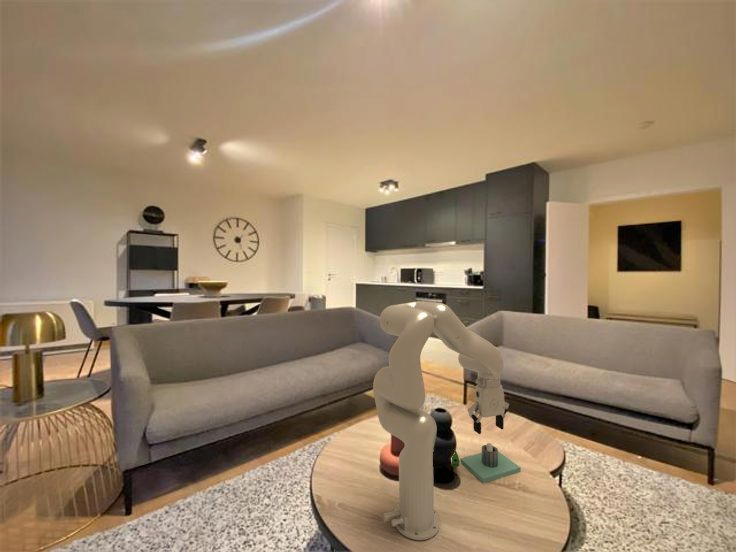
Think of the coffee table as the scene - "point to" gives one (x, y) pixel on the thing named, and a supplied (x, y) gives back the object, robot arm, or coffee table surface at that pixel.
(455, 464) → the clamp
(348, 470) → the coffee table surface
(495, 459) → the grey ribbed cylinder
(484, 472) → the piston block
